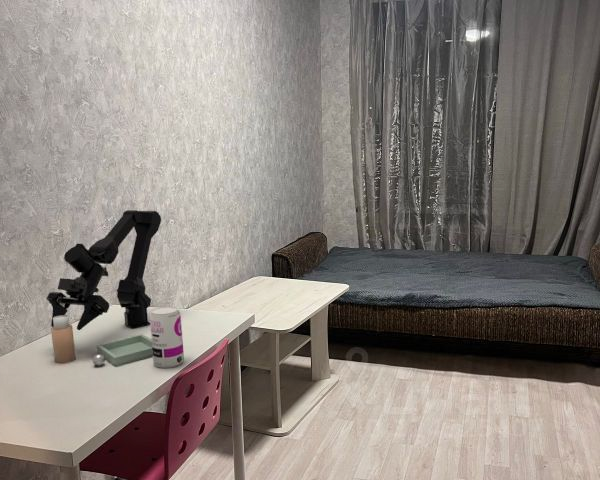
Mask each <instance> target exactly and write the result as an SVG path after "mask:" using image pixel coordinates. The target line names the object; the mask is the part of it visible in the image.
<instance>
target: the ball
mask: <svg viewBox="0 0 600 480" xmlns="http://www.w3.org/2000/svg"><path fill="white" fill-rule="evenodd" d="M105 361H106V359H105V358H104V356H103V355H101V354H95V355H94V356H93V357H92V363H93V365H94V366H95V367H99V366H100V367H101V366H103V365H104V363H105Z"/></svg>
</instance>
